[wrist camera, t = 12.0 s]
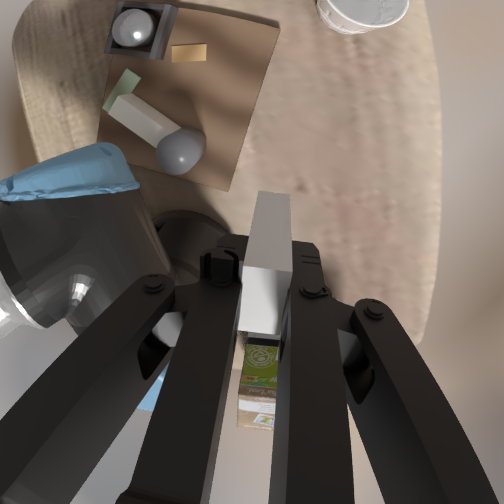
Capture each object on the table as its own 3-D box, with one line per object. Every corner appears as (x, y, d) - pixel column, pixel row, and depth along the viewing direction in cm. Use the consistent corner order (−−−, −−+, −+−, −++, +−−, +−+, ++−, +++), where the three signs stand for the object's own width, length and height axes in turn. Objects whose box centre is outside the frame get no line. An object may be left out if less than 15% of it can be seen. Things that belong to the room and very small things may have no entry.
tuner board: (229, 188, 40) (224, 199, 36) (99, 152, 38) (84, 160, 35) (280, 30, 29) (280, 25, 26) (131, 4, 28) (117, -1, 24)
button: (153, 49, 29) (142, 48, 26) (120, 45, 29) (107, 44, 26) (163, 14, 27) (153, 10, 24) (130, 11, 26) (118, 7, 24)
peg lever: (214, 141, 35) (204, 150, 31) (192, 169, 37) (180, 182, 33) (136, 86, 32) (117, 89, 28) (118, 116, 34) (98, 122, 30)
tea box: (341, 327, 50) (352, 403, 37) (328, 365, 55) (333, 436, 42) (248, 319, 50) (237, 396, 38) (246, 359, 56) (236, 430, 43)
